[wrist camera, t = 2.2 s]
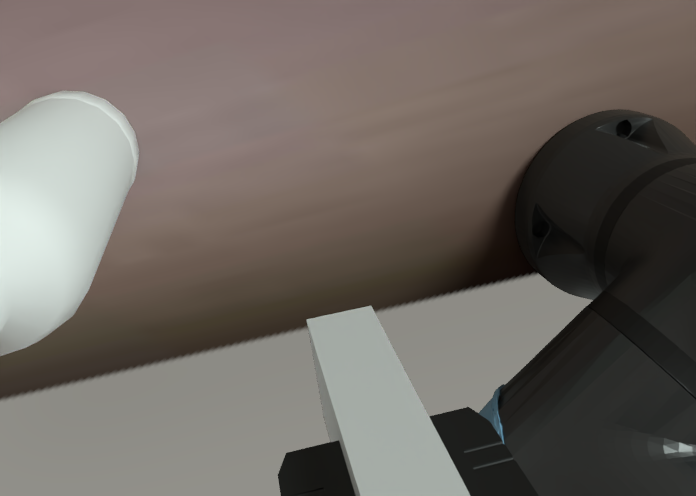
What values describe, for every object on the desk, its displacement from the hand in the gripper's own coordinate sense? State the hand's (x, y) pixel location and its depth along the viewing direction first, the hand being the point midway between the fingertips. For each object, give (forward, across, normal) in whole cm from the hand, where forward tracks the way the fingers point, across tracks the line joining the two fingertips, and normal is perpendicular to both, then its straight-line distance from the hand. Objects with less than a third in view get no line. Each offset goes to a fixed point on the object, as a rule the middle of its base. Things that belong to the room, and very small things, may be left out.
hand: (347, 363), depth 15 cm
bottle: (+33, +12, 0) cm, 35 cm away
